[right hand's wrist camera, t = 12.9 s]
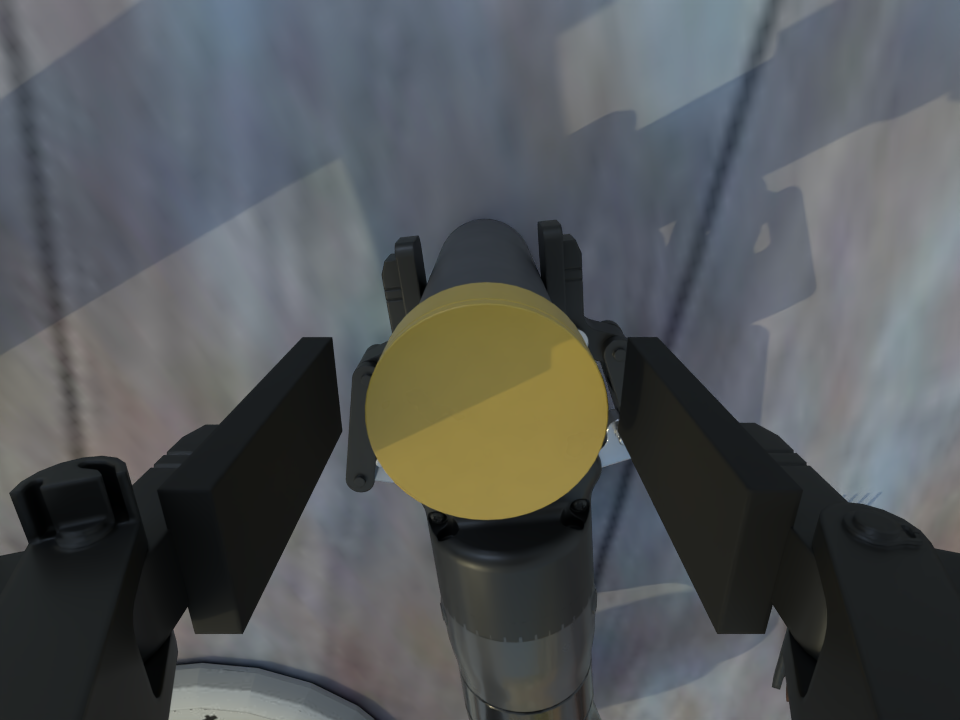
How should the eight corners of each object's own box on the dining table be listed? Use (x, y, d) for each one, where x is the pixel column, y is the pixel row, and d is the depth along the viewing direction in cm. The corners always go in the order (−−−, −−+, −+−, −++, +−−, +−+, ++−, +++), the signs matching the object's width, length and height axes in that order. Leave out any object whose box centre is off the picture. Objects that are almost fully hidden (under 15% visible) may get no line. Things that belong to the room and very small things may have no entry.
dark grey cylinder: (550, 257, 27) (632, 394, 12) (493, 327, 28) (503, 528, 13) (475, 199, 26) (464, 269, 11) (420, 275, 27) (345, 429, 12)
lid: (637, 366, 13) (660, 400, 12) (503, 508, 15) (506, 556, 13) (464, 234, 12) (460, 249, 10) (339, 403, 14) (318, 441, 12)
